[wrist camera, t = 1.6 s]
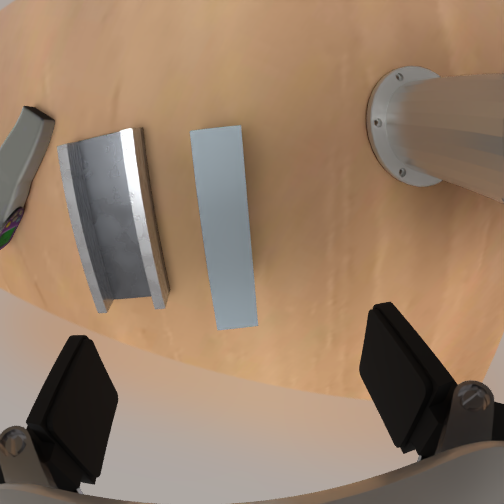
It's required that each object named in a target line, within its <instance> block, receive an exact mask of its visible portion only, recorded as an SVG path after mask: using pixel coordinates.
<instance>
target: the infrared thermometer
mask: <svg viewBox="0 0 504 504" xmlns="http://www.w3.org/2000/svg"><path fill="white" fill-rule="evenodd" d="M54 125H55V120H54V119H52V118H50V117H49V116H47V115H46V114H44V113H43V112H41V111H40V110H38V109H37V108H35V107H30V106H23V109H22V112H21V114H20V117H19V119H18V120H17V122H16V124H15V126H14V128H13V129H12V131H11V132H10V134H9V135H8V137H7V138H6V140H5V141H4V143H3V144H2V146H1V147H0V250H1V249H2V248H4V247H5V246H6V245H7V244H8V243H9V242H10V240H11V239H12V237H13V235H14V233H15V231H16V229H17V227H18V225H19V223H20V221H21V219H22V216H23V213H24V209H23V207H24V204H25V201H26V199H27V196H28V194H29V189H30V185H31V181H32V179H33V178H34V176H35V174H36V172H37V170H38V168H39V165H40V163H41V161H42V159H43V157H44V155H45V152H46V150H47V147H48V145H49V142H50V139H51V136H52V133H53V129H54Z"/></svg>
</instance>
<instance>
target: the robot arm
mask: <svg viewBox="0 0 504 504" xmlns="http://www.w3.org/2000/svg"><path fill="white" fill-rule="evenodd" d="M396 77H397V78H396ZM374 121H376V124H374ZM367 130H368V136H369V140H370V143H371V146H372V149H373V151H374V153H375V155H376V157H377V159H378V161H379V162H380V163H381V165H382V166H383V167H384V169H385V170H386V171H387V172H388V173H390V174H391V175H392V176H393V177H394V178H396V179H398V180H399V181H401V182H404V183H406V184H409V185H412V186H417V187H428V186H432V185H435V184H437V183H439V182H441V181H443V180H444V181H447V182H449V183H452V184H455V185H458V186H460V187H463V188H466V189H468V190H471V191H473V192H476V193H478V194H481V195H483V196H486V197H488V198H491V199H493V200H496V201H498V202H500V203H503V204H504V73H501V74H475V75H460V76H448V77H440V76H439V75H438V74H436V73H435V72H433V71H431V70H429V69H426V68H423V67H419V66H406V67H401V68H398V69H394V70H392V71H391V72H389V73H387V74H386V75H384V76H383V77H382V78H381V79H380V81H379V82H378V83H377V85H376V86H375V88H374V89H373V91H372V94H371V97H370V99H369V103H368V109H367ZM399 170H400V172H399ZM359 371H360V375H361V378H362V380H363V382H364V384H365V386H366V388H367V390H368V392H369V394H370V396H371V398H372V400H373V402H374V403H375V406H376V408H377V410H378V412H379V414H380V416H381V418H382V420H383V422H384V424H385V426H386V428H387V430H388V432H389V434H390V436H391V438H392V440H393V443H394V445H395V446H396V447H397V448H399V447H400V448H401V450H402V452H403V454H405V453H407V452H410V451H412V450H415V449H416V451H417V453H418V455H419V457H418V460H417V462H416V463H413V464H411V465H408V466H405V467H402V468H400V469H397V470H394V471H391V472H388V473H385V474H382V475H379V476H375V477H372V478H369V479H366V480H362V481H359V482H355V483H352V484H348V485H345V486H340V487H337V488H332V489H328V490H324V491H319V492H315V493H309V494H304V495H299V496H294V497H287V498H280V499H273V500H266V501H256V502H246V503H235V504H504V404H501V403H497V402H494V396H493V394H492V392H491V390H490V389H489V388H488V387H487V386H486V385H484V384H483V383H481V382H478V381H471V380H469V381H464V382H462V383H460V384H459V385H457V383H456V382H455V381H454V379H453V378H452V376H451V375H450V374H449V372H448V371H447V370H446V368H445V367H444V366H443V365H442V363H441V362H440V361H439V359H438V358H437V357H436V356H435V354H434V353H433V352H432V351H431V349H430V348H429V347H428V346H427V344H426V343H425V342H424V341H423V339H422V338H421V337H420V336H419V334H418V333H417V332H416V331H415V330H414V328H413V327H412V326H411V325H410V323H409V322H408V321H407V320H406V319H405V318H404V316H403V315H402V314H401V313H400V312H399V310H398V309H397V308H396V307H395V306H394V305H393V303H391V302H386V303H380V304H376V305H374V307H373V309H372V310H370V311H369V313H368V320H367V326H366V333H365V339H364V345H363V350H362V356H361V361H360V367H359ZM117 403H118V394H117V391H116V389H115V387H114V386H113V383H112V381H111V379H110V378H109V375H108V373H107V371H106V369H105V367H104V365H103V363H102V361H101V359H100V356H99V354H98V352H97V349H96V347H95V345H94V343H93V341H92V340H90V339H89V338H88V337H87V336H85V335H73V336H70V337H69V339H68V340H67V342H66V344H65V345H64V347H63V349H62V351H61V353H60V354H59V356H58V358H57V360H56V362H55V364H54V365H53V367H52V369H51V371H50V373H49V375H48V377H47V379H46V381H45V383H44V385H43V387H42V389H41V391H40V393H39V395H38V397H37V399H36V401H35V403H34V405H33V407H32V409H31V412H30V414H29V416H28V418H27V420H26V423H27V425H28V426H27V429H25V428H24V427H21V426H12V427H9V428H7V429H5V430H4V431H3V432H2V433H1V434H0V504H153V503H141V502H131V501H123V500H115V499H109V498H102V497H96V496H90V495H84V494H83V492H82V491H81V489H80V482H83V483H89V484H95V481H96V477H99V476H100V474H101V469H102V465H103V460H104V455H105V451H106V447H107V442H108V438H109V434H110V430H111V426H112V422H113V418H114V415H115V410H116V407H117ZM154 504H155V503H154ZM233 504H234V503H233Z"/></svg>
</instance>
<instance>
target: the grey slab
mask: <svg viewBox="0 0 504 504" xmlns="http://www.w3.org/2000/svg"><path fill="white" fill-rule="evenodd" d="M190 137H191V147H192V156H193V165H194V173H195V181H196V190H197V197H198V205H199V213H200V220H201V228H202V235H203V242H204V249H205V255H206V262H207V269H208V275H209V281H210V288H211V294H212V300H213V306H214V312H215V318H216V324H217V329H218V330H225V329H235V328H244V327H252V326H258V319H257V307H256V296H255V284H254V272H253V261H252V249H251V237H250V225H249V214H248V202H247V190H246V179H245V167H244V155H243V143H242V132H241V125H238V126H228V127H218V128H209V129H201V130H193V131H190Z"/></svg>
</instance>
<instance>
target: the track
mask: <svg viewBox="0 0 504 504" xmlns="http://www.w3.org/2000/svg"><path fill="white" fill-rule="evenodd" d="M57 150H58V157H59V164H60V170H61V176H62V181H63V187H64V192H65V197H66V202H67V207H68V211H69V216H70V220H71V224H72V228H73V232H74V236H75V240H76V244H77V248H78V251H79V255H80V258H81V262H82V265H83V269H84V272H85V275H86V278H87V281H88V285H89V288H90V291H91V294H92V297H93V300H94V303H95V305H96V308H97V311H98V313H107V312H108V310H109V308H110V306H111V304H112V302H113V300H114V299H125V298H137V297H149V296H152V300H153V304H154V307H155V309H164V308H166V304H167V300H168V296H169V292H170V287H169V282H168V277H167V273H166V268H165V263H164V258H163V254H162V248H161V243H160V238H159V233H158V227H157V222H156V216H155V210H154V204H153V198H152V192H151V186H150V179H149V172H148V165H147V157H146V150H145V142H144V133H143V128H129V129H125V130H120V132H116V133H112V134H107V135H103V136H99V137H95V138H91V139H87V140H83V141H79V142H73V143H67V144H64V145H60V146H57Z"/></svg>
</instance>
